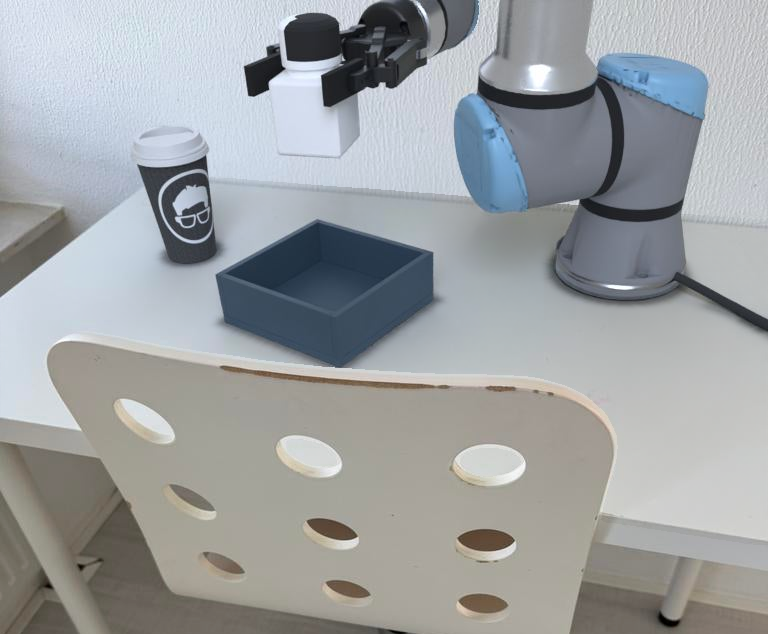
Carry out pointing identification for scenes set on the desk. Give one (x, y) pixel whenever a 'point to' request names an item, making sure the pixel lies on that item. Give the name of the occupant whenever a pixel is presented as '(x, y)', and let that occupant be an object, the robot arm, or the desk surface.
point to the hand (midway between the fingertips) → (286, 86)
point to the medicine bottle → (310, 90)
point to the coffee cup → (178, 189)
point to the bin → (327, 290)
